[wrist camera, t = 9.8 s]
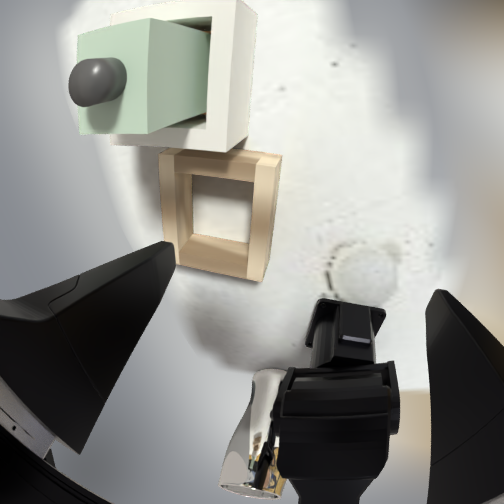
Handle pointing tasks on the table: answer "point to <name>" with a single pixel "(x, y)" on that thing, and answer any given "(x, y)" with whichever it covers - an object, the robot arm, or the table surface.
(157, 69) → the plug
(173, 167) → the tan wooden frame
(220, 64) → the socket
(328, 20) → the table surface
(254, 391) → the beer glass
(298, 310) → the table surface
